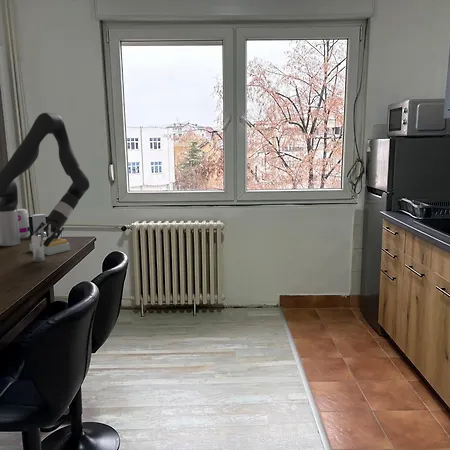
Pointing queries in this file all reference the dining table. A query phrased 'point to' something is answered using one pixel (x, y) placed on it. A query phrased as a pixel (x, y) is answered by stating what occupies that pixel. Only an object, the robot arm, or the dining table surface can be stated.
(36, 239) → the grey tall cylinder
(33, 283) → the dining table surface
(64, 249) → the bottle holder tray
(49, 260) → the dining table surface
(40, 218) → the skincare box
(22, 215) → the supplement can
